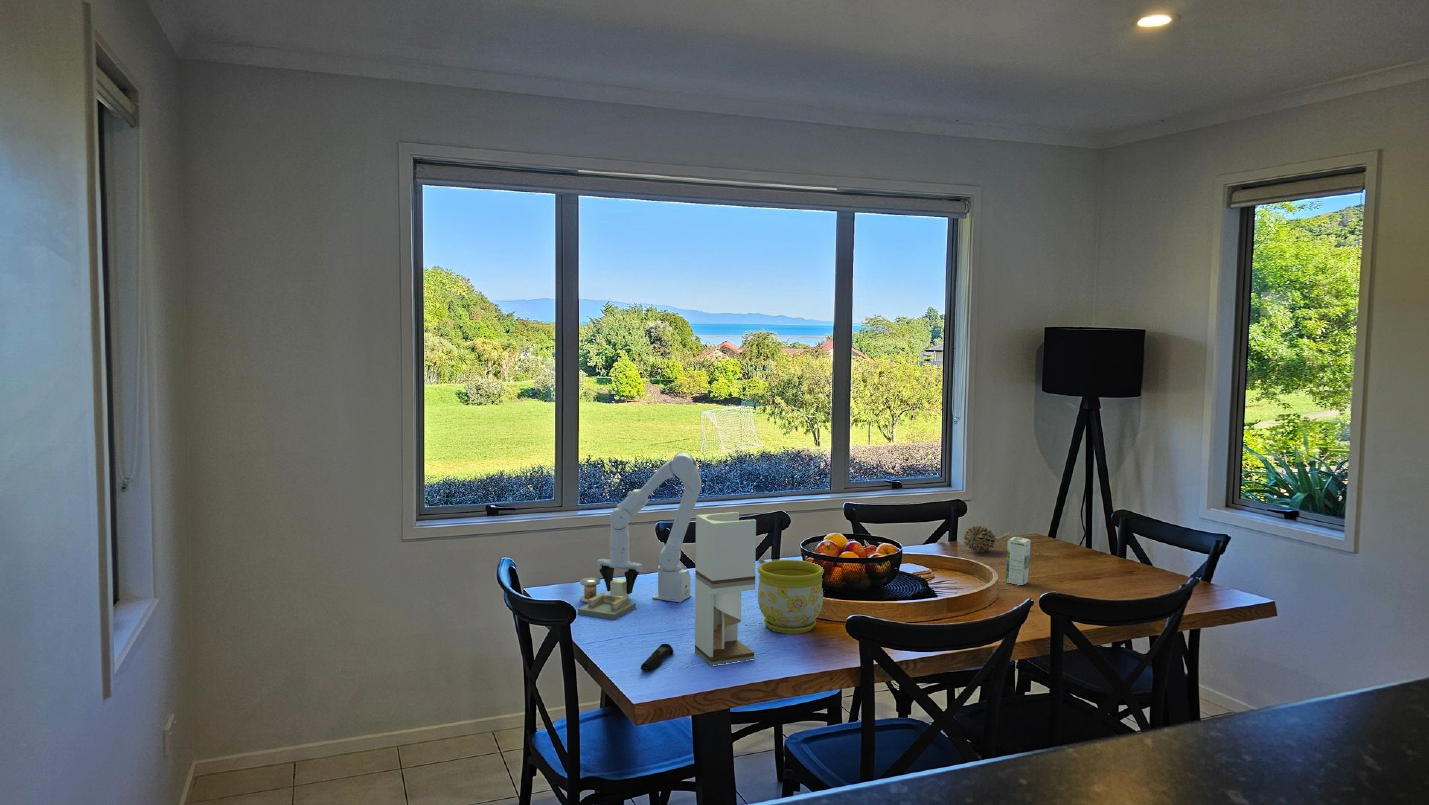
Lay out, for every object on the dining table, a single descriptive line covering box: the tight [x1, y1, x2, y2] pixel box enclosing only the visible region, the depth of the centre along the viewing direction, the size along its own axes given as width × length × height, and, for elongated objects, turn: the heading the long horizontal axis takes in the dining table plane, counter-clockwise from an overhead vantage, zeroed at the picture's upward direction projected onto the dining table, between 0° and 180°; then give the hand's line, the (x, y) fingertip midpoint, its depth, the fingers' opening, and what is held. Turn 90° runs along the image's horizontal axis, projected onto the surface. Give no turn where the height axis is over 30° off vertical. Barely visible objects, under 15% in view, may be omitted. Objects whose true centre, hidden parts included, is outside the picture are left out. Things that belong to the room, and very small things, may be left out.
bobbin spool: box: [579, 577, 601, 604], centre depth 273 cm, size 6×6×6 cm
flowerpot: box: [757, 559, 824, 635], centre depth 250 cm, size 18×18×16 cm
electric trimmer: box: [640, 643, 674, 672], centre depth 222 cm, size 4×16×3 cm, turn 161°
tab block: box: [609, 577, 630, 597], centre depth 277 cm, size 4×4×5 cm
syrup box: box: [1005, 536, 1031, 586], centre depth 295 cm, size 6×6×14 cm
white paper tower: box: [694, 511, 757, 667], centre depth 226 cm, size 11×11×35 cm
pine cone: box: [962, 525, 1011, 552], centre depth 339 cm, size 22×10×10 cm, turn 123°
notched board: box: [577, 592, 637, 621], centre depth 263 cm, size 12×12×4 cm
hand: (619, 592), depth 277 cm, fingers open, 6 cm apart
